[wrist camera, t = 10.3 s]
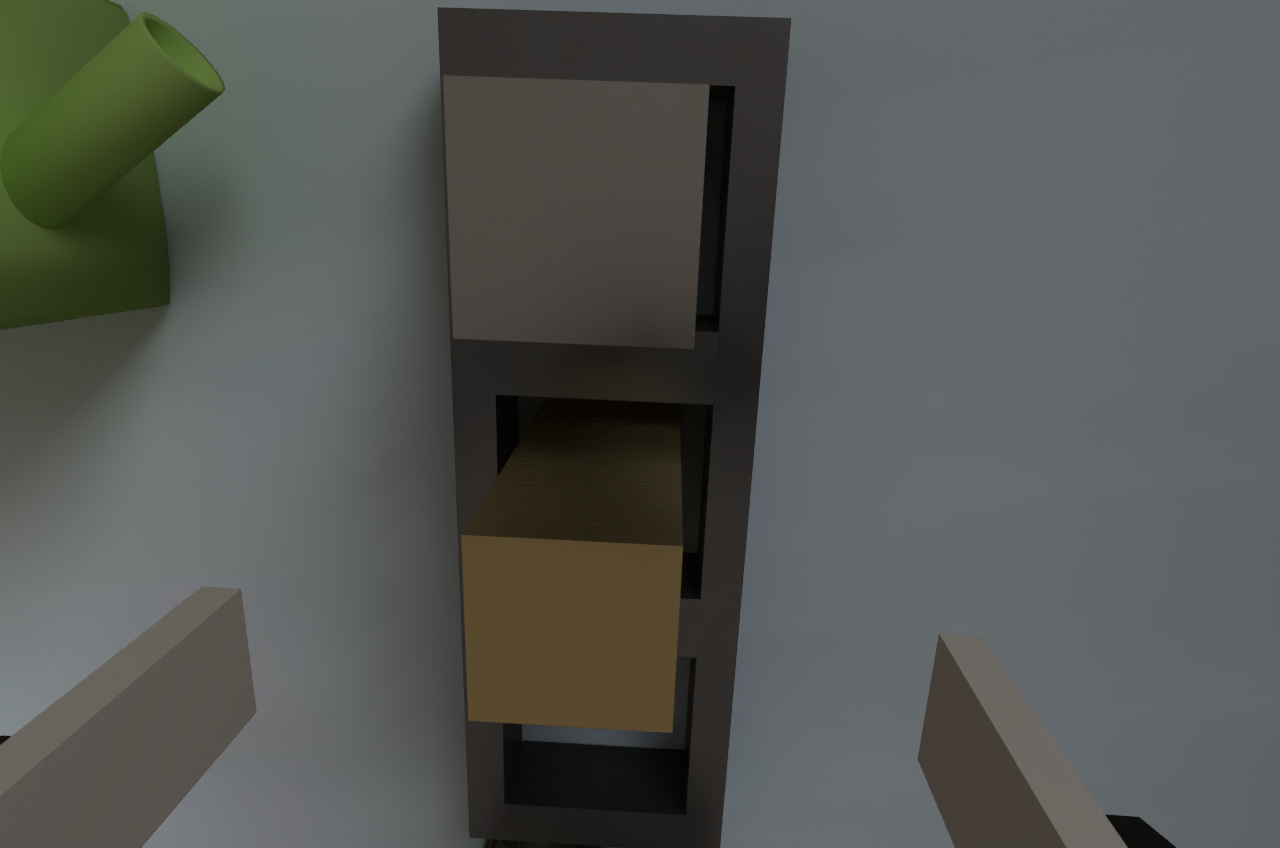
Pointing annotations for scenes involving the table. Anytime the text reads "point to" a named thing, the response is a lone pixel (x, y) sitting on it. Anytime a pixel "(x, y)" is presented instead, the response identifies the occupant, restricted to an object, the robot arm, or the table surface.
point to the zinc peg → (575, 209)
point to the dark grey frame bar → (708, 374)
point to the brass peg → (579, 572)
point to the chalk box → (527, 844)
